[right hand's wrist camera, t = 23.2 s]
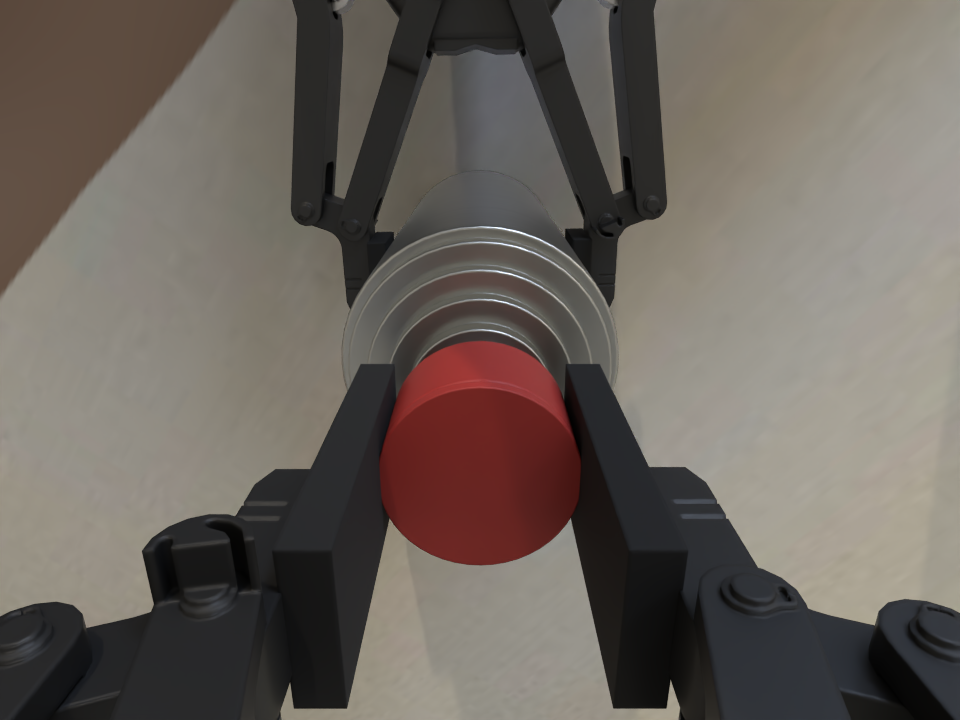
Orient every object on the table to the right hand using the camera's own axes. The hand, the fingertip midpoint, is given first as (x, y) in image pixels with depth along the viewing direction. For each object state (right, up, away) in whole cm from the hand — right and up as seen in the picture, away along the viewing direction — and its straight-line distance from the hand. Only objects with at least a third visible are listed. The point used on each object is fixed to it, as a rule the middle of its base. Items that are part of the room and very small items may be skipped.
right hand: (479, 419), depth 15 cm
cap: (0, -1, -2) cm, 2 cm away
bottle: (0, +7, +19) cm, 21 cm away
